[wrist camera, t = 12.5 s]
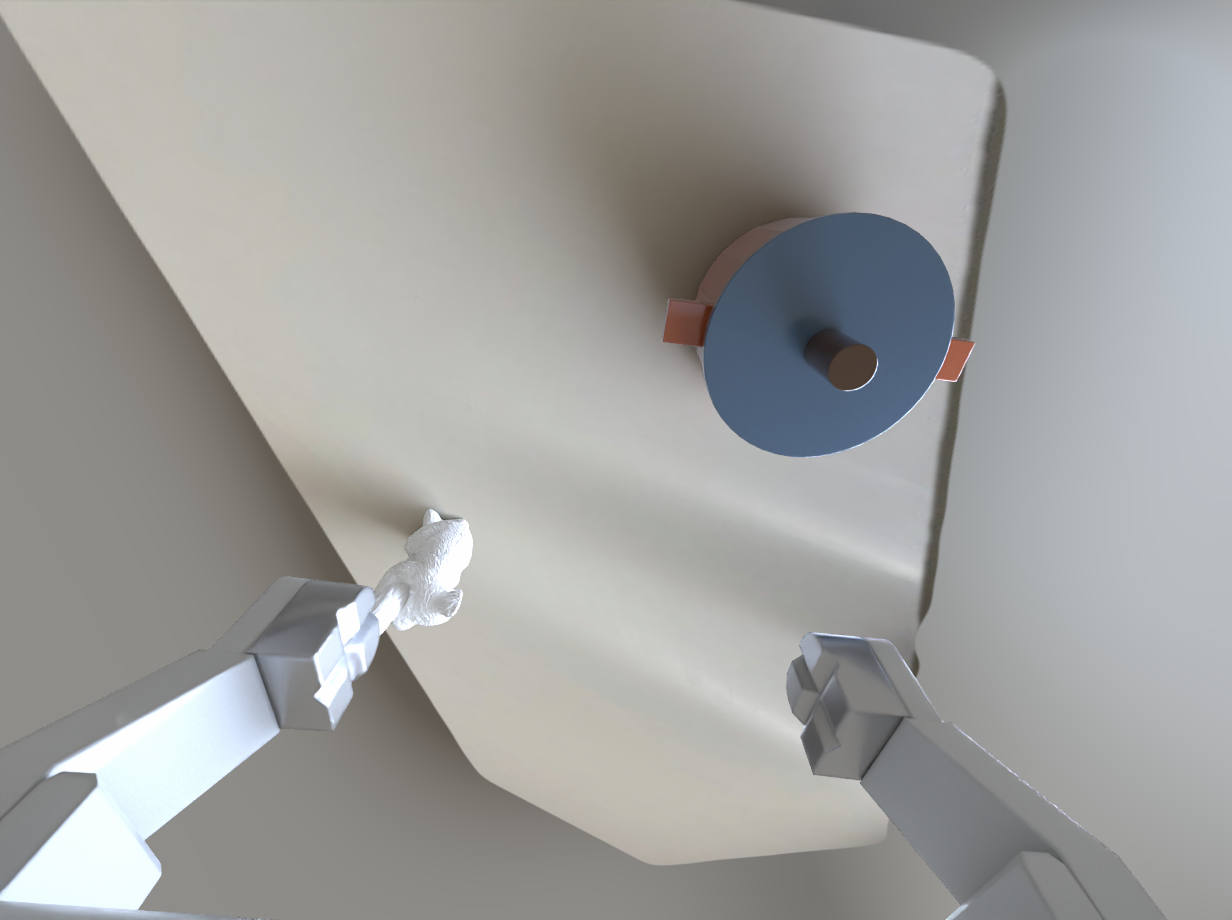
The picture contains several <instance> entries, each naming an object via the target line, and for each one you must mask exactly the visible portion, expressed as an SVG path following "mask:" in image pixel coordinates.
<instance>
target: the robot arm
mask: <svg viewBox="0 0 1232 920" xmlns="http://www.w3.org/2000/svg"><path fill="white" fill-rule="evenodd" d="M375 603H376V600H375V595H374V590H373V588H371V587H368V586H361V585H353V584H346V583H338V582H330V581H322V580H315V579H313V580H311V579H303V578H296V577H288V576H284V577H282V578H280V579H278V580H276V581H274V582H273V583H272V584H271V586H270V587H269V588H268V589H267V590H266V591H265V592H264V593H263V594H262V595H261V596H260V597H259V598H258V599H257V600H256V601H255V602H254V603H253V605H251V606H250V608H249V609H248V610H247V611H246V612H245V613H244V614H243V615H242V616H241V617H240V618H239V620H237V621H236V622H235V624H233V625H232V627H231V628H230V629H229V630H228V631H227V632H226V633H225V634H224V635H223V636H222V637H221V638H220V639H219V640H218V641H217V642H216V643H215V645H213V647H212V648H211V649H210V650H197V651H195V652H193V653H191V654H189V655H188V656H186V657H183V658H182V659H179V660H177V661H175V662H173V663H172V664H170V665H167V666H166V667H164V668H161V669H159V670H157V671H155V672H153V673H151V674H149V675H147V676H146V677H143V678H141V679H139V680H137V681H135V682H133V683H131V684H129V685H127V686H125V687H123V688H121V689H119V690H117V691H115V692H113V693H111V694H109V695H107V696H105V697H103V698H101V699H99V700H97V701H95V702H93V703H92V704H90V705H87V706H85V707H83V708H81V709H79V710H77V711H75V712H74V713H71V714H69V715H67V716H65V717H63V718H61V719H59V720H57V721H55V722H53V723H51V724H49V725H47V726H45V727H43V728H41V729H39V730H37V731H35V732H33V733H31V734H29V735H27V736H25V737H23V738H21V739H19V740H17V741H16V742H13V743H11V744H9V745H7V746H5V747H3V748H1V749H0V920H271V919H258V918H243V917H229V916H215V915H201V914H186V913H172V912H157V911H142V910H138V908H139V907H140V906H141V904H142V903H143V901H144V900H145V898H146V897H147V895H148V894H149V892H150V891H151V889H152V888H153V887H154V885H155V884H156V882H157V881H158V879H159V878H160V876H161V864H160V862H159V861H158V859H157V858H156V856H155V855H154V854H153V852H152V851H151V849H150V848H149V847H148V845H147V844H146V842H145V841H144V840H145V839H146V838H148V837H149V836H150V835H151V834H153V833H154V832H155V831H156V830H158V829H159V828H160V827H161V826H163V825H164V824H165V823H166V822H168V821H169V820H170V819H171V818H172V817H174V816H175V815H176V814H178V813H179V812H180V811H181V810H183V809H184V808H185V807H186V806H188V805H189V804H190V803H191V802H193V801H194V800H195V799H196V798H198V797H199V796H200V795H201V794H203V793H204V792H205V791H206V790H208V789H209V788H210V787H211V786H213V785H214V784H215V783H216V782H218V781H219V780H220V779H221V778H223V777H224V776H225V775H226V774H228V773H229V772H230V771H231V770H232V769H234V768H235V767H236V766H237V765H239V764H240V763H241V762H242V761H244V760H245V759H246V758H248V757H249V756H250V755H251V754H252V753H254V752H255V751H256V750H258V749H259V748H260V747H261V746H263V745H264V744H265V743H266V742H268V741H269V740H270V739H271V738H273V737H274V736H275V735H276V734H278V733H279V732H280V729H279V728H281V729H282V728H283V729H298V730H314V731H333V730H334V729H335V727H336V725H337V723H338V722H339V720H340V718H341V716H342V714H343V713H344V711H345V709H346V707H347V706H348V704H349V702H350V700H351V698H352V696H353V690H352V685H351V682H352V681H354V680H355V679H357V678H358V677H360V676H361V675H363V674H364V673H366V672H367V670H368V668H369V666H370V664H371V662H372V660H373V658H374V655H375V652H376V649H377V646H378V643H379V635H380V625H379V619H378V618H377V617H376V616H375V615H374V614H373V613H372V612H371V609H372V607H373V606H374V604H375ZM799 646H800V649H801V651H802V654H803V655H801V656H800V657H798V658H796V659H795V660H793V661H792V663H791V665H790V668H789V670H788V673H787V685H786V689H787V695H788V701H789V704H790V707H791V710H792V713H793V714H794V715H795V716H796V717H797V718H798V719H799V720H800V721H801V722H802V724H803V725H804V728H803V731H802V734H801V740H802V743H803V746H804V749H805V752H806V755H807V758H808V760H809V763H810V766H811V769H812V772H813V775H820V776H828V777H837V778H845V779H853V780H861V782H860V784H861V785H862V786H863V787H864V789H865V790H866V791H867V792H868V793H869V795H870V796H871V797H872V798H873V799H874V801H875V802H876V803H877V804H878V805H879V807H880V808H881V809H882V810H883V812H884V813H885V814H886V815H887V816H888V818H889V819H890V820H891V821H892V822H893V824H894V825H895V826H896V827H897V828H898V830H899V831H900V832H901V833H902V835H903V836H904V837H905V838H906V839H907V840H908V842H909V843H910V844H911V845H912V846H913V848H914V849H915V850H916V851H917V852H918V854H919V855H920V856H921V857H922V859H923V860H924V861H925V862H926V863H927V865H928V866H929V867H930V868H931V870H932V871H933V872H934V873H935V874H936V876H937V877H938V878H939V879H940V880H941V882H942V883H943V884H944V885H945V886H946V888H947V889H948V890H949V891H950V892H951V894H952V895H953V896H954V897H955V899H956V900H957V901H958V902H959V903H960V905H961V906H960V907H959V908H958V909H957V910H955V911H954V912H953V913H952V914H951V915H950V916H949V917H948V918H946V919H945V920H1167V919H1166V917H1165V916H1164V914H1163V913H1162V912H1161V910H1160V909H1159V908H1158V907H1157V905H1156V904H1155V903H1154V901H1153V900H1152V899H1151V897H1150V896H1149V895H1148V893H1147V892H1146V891H1145V890H1144V888H1143V887H1142V886H1141V884H1140V883H1139V882H1138V880H1137V879H1136V878H1135V876H1134V875H1133V874H1132V873H1131V871H1130V870H1129V869H1128V867H1127V866H1126V865H1125V863H1124V862H1123V861H1122V860H1121V858H1120V857H1119V856H1118V855H1117V854H1115V853H1114V852H1113V851H1111V850H1110V849H1109V848H1108V847H1107V846H1105V845H1104V844H1103V843H1102V842H1100V841H1099V840H1098V839H1096V838H1095V837H1094V836H1093V835H1091V834H1090V833H1089V832H1088V831H1086V830H1085V829H1084V828H1083V827H1081V826H1080V825H1079V824H1078V823H1076V822H1075V821H1074V820H1073V819H1071V818H1070V817H1069V816H1068V815H1066V814H1065V813H1064V812H1063V811H1061V810H1060V809H1059V808H1058V807H1056V806H1055V805H1054V804H1052V803H1051V802H1050V801H1049V800H1048V799H1046V798H1045V797H1044V796H1043V795H1041V794H1040V793H1039V792H1038V791H1036V790H1035V789H1034V788H1033V787H1031V786H1030V785H1029V784H1028V783H1026V782H1025V781H1024V780H1023V779H1021V778H1020V777H1019V776H1017V775H1016V774H1015V773H1014V772H1013V771H1011V770H1010V769H1009V768H1008V767H1006V766H1005V765H1004V764H1002V763H1001V762H1000V761H999V760H997V759H996V758H995V757H994V756H992V755H991V754H990V753H989V752H988V751H986V750H985V749H984V748H983V747H981V746H980V745H979V744H977V743H976V742H975V741H973V739H971V738H970V737H969V736H967V735H966V734H965V733H964V732H963V731H961V730H960V729H959V728H957V727H956V726H955V725H954V724H953V723H951V722H945V721H942V720H941V718H940V716H939V715H938V713H937V712H936V710H935V709H934V707H933V705H932V704H931V702H930V701H929V699H928V697H927V696H926V694H925V693H924V691H923V689H922V688H921V686H920V685H919V683H918V682H917V680H916V678H915V677H914V675H913V674H912V672H911V670H910V669H909V667H908V666H907V664H906V663H905V661H904V659H903V658H902V656H901V655H900V653H899V651H898V650H897V648H896V647H895V645H894V644H892V643H891V642H890V641H889V640H887V639H876V638H866V637H857V636H846V635H835V634H825V633H814V632H809V633H807V634H806V635H805V636H804V637H803V639H802V641H801V643H800V645H799Z"/></svg>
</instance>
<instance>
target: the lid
mask: <svg viewBox="0 0 1232 920" xmlns="http://www.w3.org/2000/svg"><path fill="white" fill-rule="evenodd" d="M954 319H955V301H954V295H953V288H952V284H951V281H950V278H949V274H948V271H947V269H946V267H945V265H944V263H943V261H942V259H941V257H940V256H939V255H938V253H937V252H936V251H935V249H934V248H933V247H932V245H931V244H930V243H929V242H928V241H927V240H926V239H925V238H924V237H923V236H921V235H920V234H919V233H918V232H916V231H915V230H913V229H912V228H910V227H909V226H907V225H905V224H903V223H901V222H899V221H896V220H894V219H891V218H889V217H885V216H880V215H876V214H870V213H857V212H848V213H834V214H828V215H824V216H819V217H814V218H812V219H809V220H806V221H803V222H800V223H798V224H795V225H793V226H791V227H789V228H787V229H785V230H783V231H781V232H779V233H778V234H776V235H775V236H773V237H772V238H770V239H769V240H767V241H766V242H764V243H763V244H762V245H761V246H759V247H758V248H757V249H756V250H755V251H754V252H752V253H751V254H750V255H749V256H748V257H747V258H746V259H745V260H744V261H743V262H742V263H741V264H740V266H739V267H738V268H737V269H736V270H735V271H734V273H733V274H732V275H731V277H730V278H729V280H728V281H727V282H726V284H725V285H724V287H723V289H722V290H721V292H720V294H719V296H718V297H717V299H716V301H715V304H714V306H713V309H712V311H711V313H710V316H709V319H708V323H707V326H706V330H705V335H704V341H703V351H702V365H703V373H704V379H705V383H706V387H707V391H708V393H709V396H710V398H711V400H712V403H713V405H714V407H715V408H716V410H717V412H718V413H719V415H720V417H721V418H722V419H723V421H724V422H725V423H726V424H727V425H728V427H729V428H730V429H731V430H733V431H734V432H735V433H736V434H737V435H738V436H739V437H741V438H742V439H744V440H745V441H747V442H748V443H750V444H752V445H754V446H756V447H758V448H760V449H762V450H765V451H768V452H771V453H774V454H779V455H784V456H790V457H818V456H824V455H830V454H835V453H838V452H842V451H846V450H848V449H851V448H854V447H856V446H859V445H861V444H863V443H865V442H867V441H869V440H871V439H873V438H875V437H877V436H878V435H880V434H881V433H883V432H884V431H886V430H888V429H889V428H890V427H892V426H893V425H894V424H895V423H897V422H898V421H899V420H901V419H902V418H903V417H904V416H905V415H906V414H907V413H908V412H909V411H910V410H911V409H912V408H913V407H914V406H915V405H916V404H917V402H918V401H919V400H920V399H921V398H922V397H923V395H924V394H925V393H926V391H927V390H928V388H929V387H930V386H931V384H932V383H933V381H934V379H935V378H936V376H937V374H938V372H939V370H940V368H941V367H942V364H943V362H944V359H945V357H946V354H947V352H948V349H949V345H950V341H951V338H952V333H953V326H954Z"/></svg>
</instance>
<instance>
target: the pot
mask: <svg viewBox="0 0 1232 920" xmlns="http://www.w3.org/2000/svg"><path fill="white" fill-rule="evenodd" d="M809 219H812V218H801V217H791V218H786V219H783V220H779V221H774V222H770V223H767V224H764V225H761V226H759V227H755V228H753V229H751V230H750V231H748V232H747V233H745V234H743V235H742V236H741V237H739V238H738V239H736V240H735V241H734V242H732V243H731V244H730V245H729V246H728V247H727V248H725V249H724V251H722V252H721V254H719V256H718V257H717V258H716V259H715V261H714V262H713V264H712V265H711V267H710V268H709V269H708V271H707V273H706V275H705V277H704V278H703V280H702V282H701V285H700V286H699V290H698V292H697V296H696V300H688V299H681V298H673V297H669V298H668V303H667V309H666V314H665V320H664V326H663V331H662V341H663V342H668V343H676V344H683V345H690V346H696V349H697V354H698V357H699V359H700V361H701V363H702V351H703V341H704V335H705V330H706V326H707V323H708V319H709V316H710V313H711V311H712V309H713V306H714V304H715V301H716V299H717V297H718V296H719V294H720V292H721V290H722V289H723V287H724V285H725V284H726V282H727V281H728V280H729V278H730V277H731V275H732V274H733V273H734V271H735V270H736V269H737V268H738V267H739V266H740V264H741V263H742V262H743V261H744V260H745V259H746V258H747V257H748V256H749V255H750V254H751V253H752V252H754V251H755V250H756V249H757V248H758V247H759V246H761V245H762V244H763V243H764V242H766V241H767V240H769V239H770V238H772V237H773V236H775V235H776V234H778V233H779V232H781V231H783V230H785V229H787V228H789V227H791V226H793V225H795V224H798V223H800V222H803V221H806V220H809ZM974 345H975V342H972V341H970V340H967V339H964V338H957V337H952V338H951V341H950V345H949V349H948V352H947V354H946V357H945V359H944V362H943V364H942V367H941V368H940V370H939V372H938V374H937V376H936V378H935V379H939V380H946V381H954V382H956V381H957V379H958V377H959V375H960V373H961V371H962V369H963V367H964V365H965V363H966V361H967V359H968V357H969V355H970V353H971V351H972V349H973V347H974Z"/></svg>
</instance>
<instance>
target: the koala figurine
mask: <svg viewBox="0 0 1232 920" xmlns="http://www.w3.org/2000/svg"><path fill="white" fill-rule="evenodd" d="M468 529H469V525H468V523H467V522H466V521H465V520H463V519H453V520H442V519H441V518H440V517H439V515H438V513H437V512H435V511H434V510H432V509H428V510H427V511H426V512H425V514H424V517H423V525H422V528H420V529H419V530H417V531H416V532H415V533H413V534H412V535H411V536H410V537H409V538H408V539H407V541H406V543H405V546H404V547H405V550H406V552H407V553H408V556H409V557H408V559H407V560H406V561H402V562H399V563H398V564H396V565H395V566H393V567H391V568H390V569H389V570H388V571H387V572H386V573H385V574H384V576H383V578H382V579H381V580H380V582H379V584H378V585H377V587H376V589H375V590H374V595H375V600H376V603H375V604H374V606H373V607H372V609H371V612H372V613H373V614H374V615H375V616H376V617H377V618H378V619H379V625H380V635H381V634H382V633H383V632H384V630H385V629H386V628H387V626H388V625H389V624H390V622H391V624H392V625H393V626H394V627H395V628H396V629H397V630H406V629H409V628H411V627H412V626H413V625H414V624H420V625H424V626H433V625H437V624H441V623H443V622H446V621H447V620H449V618H451V617H452V616H453V615H454V614H455V613H456V611H457V609H458V608H459V605H460V602H461V599H462V590H460V589H458V590H453V589H452V588H454V587H455V586H456V585H457V584H458V582H459V579H460V573H461V572H462V570H463V569H464V568H465V567H466V566H467V565H468V563H469V560H470V557H471V555H472V545H473V541H472V536H471V533H470V532H469V530H468Z"/></svg>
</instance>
